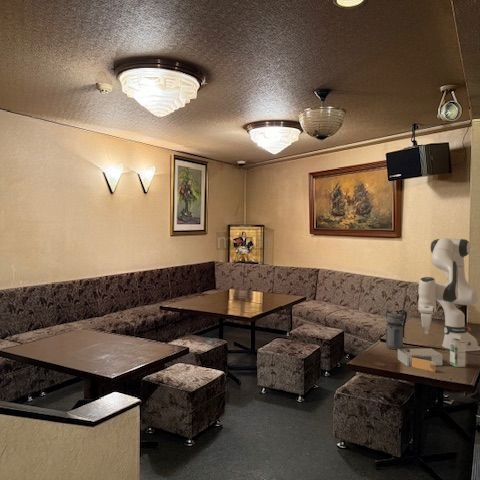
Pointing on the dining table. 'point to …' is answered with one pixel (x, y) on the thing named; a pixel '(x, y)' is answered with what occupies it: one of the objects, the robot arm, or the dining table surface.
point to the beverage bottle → (395, 329)
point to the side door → (422, 364)
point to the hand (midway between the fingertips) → (426, 332)
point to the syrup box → (457, 352)
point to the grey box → (419, 355)
